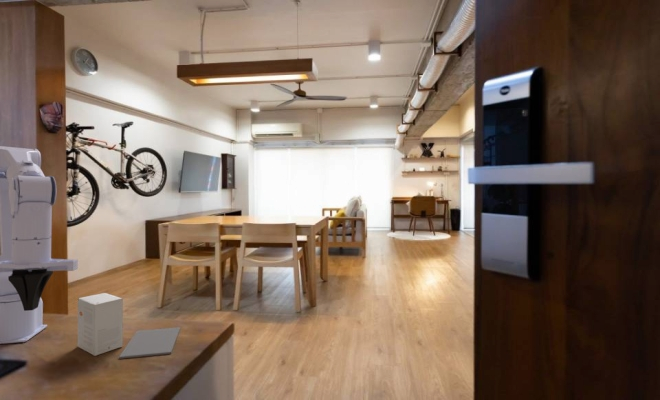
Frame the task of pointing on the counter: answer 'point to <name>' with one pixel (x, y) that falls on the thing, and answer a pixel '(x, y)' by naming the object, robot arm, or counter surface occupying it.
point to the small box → (100, 323)
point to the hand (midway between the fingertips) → (31, 308)
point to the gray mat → (151, 343)
